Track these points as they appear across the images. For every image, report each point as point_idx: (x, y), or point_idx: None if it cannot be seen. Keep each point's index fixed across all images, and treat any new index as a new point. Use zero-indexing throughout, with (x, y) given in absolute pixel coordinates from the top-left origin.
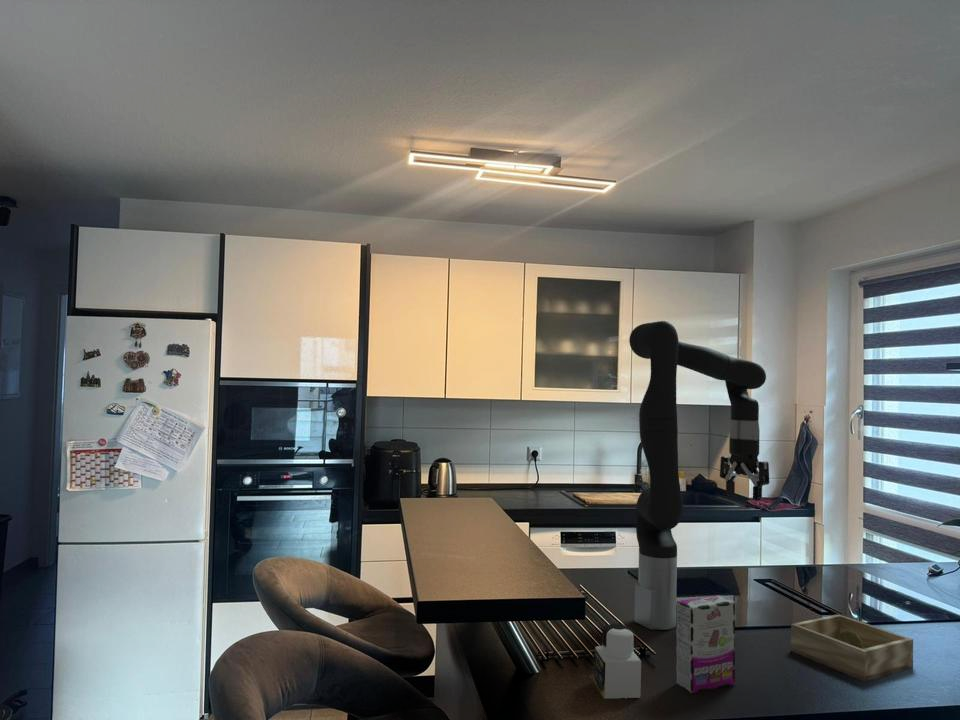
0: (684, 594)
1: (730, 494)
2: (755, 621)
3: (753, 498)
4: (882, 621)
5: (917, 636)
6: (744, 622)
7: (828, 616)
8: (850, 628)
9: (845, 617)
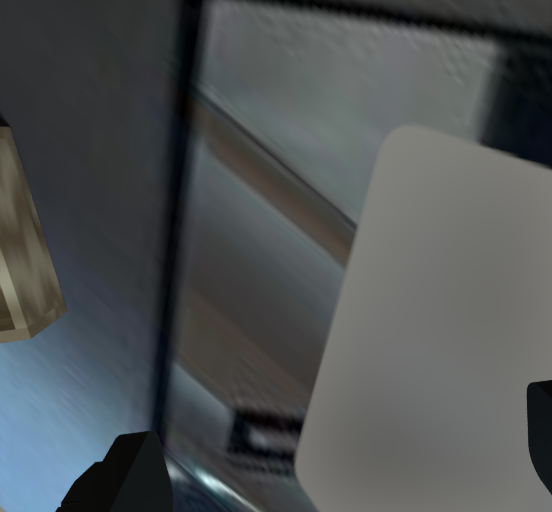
0: (502, 138)
1: (533, 407)
2: (223, 195)
3: (136, 439)
4: None
5: None
6: (222, 155)
7: (14, 294)
8: (2, 324)
9: (4, 335)
